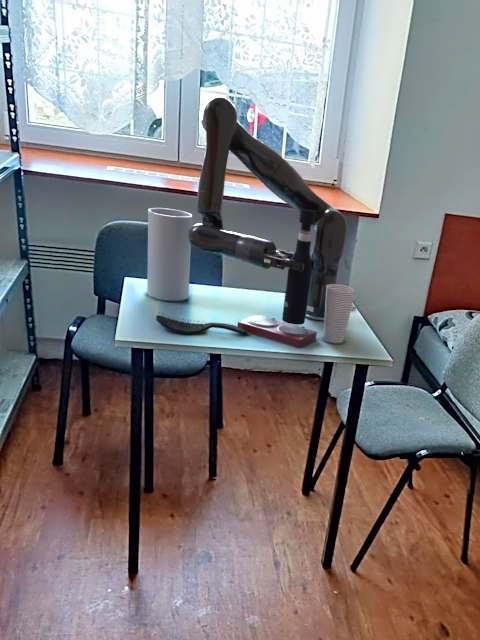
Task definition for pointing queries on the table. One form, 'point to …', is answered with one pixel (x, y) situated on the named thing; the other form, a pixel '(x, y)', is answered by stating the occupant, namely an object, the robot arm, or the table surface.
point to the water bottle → (299, 274)
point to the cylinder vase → (168, 254)
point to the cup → (337, 311)
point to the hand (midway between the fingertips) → (308, 266)
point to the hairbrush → (194, 326)
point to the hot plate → (277, 330)
